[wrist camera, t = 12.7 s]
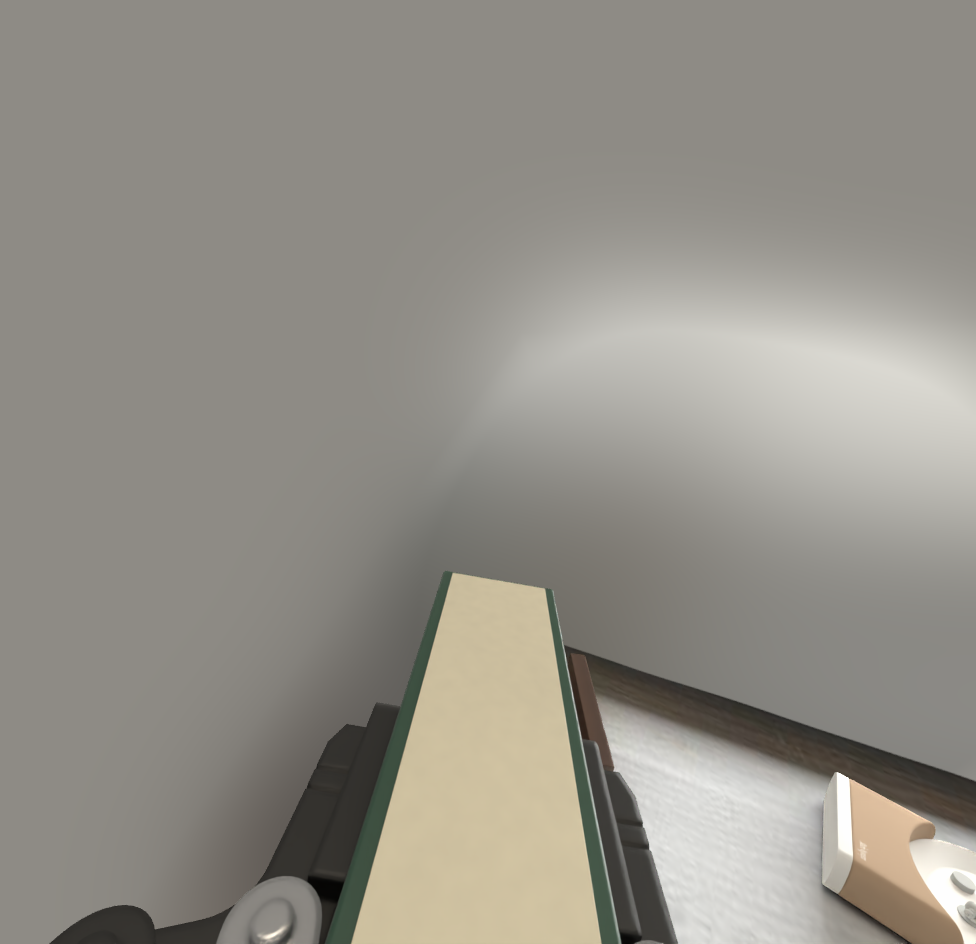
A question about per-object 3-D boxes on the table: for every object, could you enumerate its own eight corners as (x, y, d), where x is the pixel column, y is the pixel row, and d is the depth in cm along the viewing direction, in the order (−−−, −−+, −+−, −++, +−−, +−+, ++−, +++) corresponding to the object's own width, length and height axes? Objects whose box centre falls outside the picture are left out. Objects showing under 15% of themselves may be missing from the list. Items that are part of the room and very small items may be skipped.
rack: (481, 790, 33) (488, 751, 32) (488, 666, 47) (494, 636, 46) (615, 813, 33) (626, 774, 32) (584, 682, 47) (591, 653, 46)
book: (217, 1638, 6) (246, 1179, 4) (405, 817, 17) (444, 568, 14) (482, 1689, 6) (688, 1258, 4) (500, 834, 17) (553, 586, 14)
